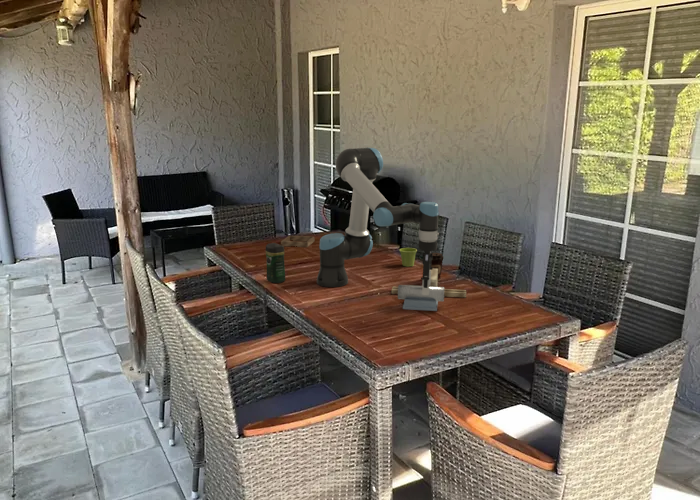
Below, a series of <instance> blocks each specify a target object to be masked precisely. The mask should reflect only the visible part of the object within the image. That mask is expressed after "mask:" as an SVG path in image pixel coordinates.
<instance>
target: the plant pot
mask: <svg viewBox="0 0 700 500" xmlns="http://www.w3.org/2000/svg"><path fill="white" fill-rule="evenodd" d="M399 252H400V256H401V264H402V265H401V266H403V267H407V268H408V267H414V266H415V259H416V254H417V252H418V250H417V248H414V247H403V248H400V249H399Z"/></svg>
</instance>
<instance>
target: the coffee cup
mask: <svg viewBox="0 0 700 500" xmlns="http://www.w3.org/2000/svg"><path fill="white" fill-rule="evenodd" d="M432 253H433V256H432V261H431V267H433V268H434V269H438V279H437V282H439V281H441V275H442V270H443V260H444V255H443V253H440V252H432Z"/></svg>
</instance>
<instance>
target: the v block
mask: <svg viewBox="0 0 700 500" xmlns="http://www.w3.org/2000/svg"><path fill="white" fill-rule="evenodd" d="M403 300H404V302H403V305H402V310H412V311H413V310H415V311H431V312H432V311H433V312H438V306H439V301H436V300H417V299H403Z"/></svg>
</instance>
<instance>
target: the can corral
mask: <svg viewBox="0 0 700 500" xmlns="http://www.w3.org/2000/svg"><path fill="white" fill-rule="evenodd" d="M290 240H293V241H290ZM313 243H315V236H309V235H308V236H305V235H288V236H287V237H285V238H284V239H282V240H280V245H282V246H284V247H291V246H295V247H296V246H297V247H296V248H300V247H301V248H309V247H310V246H311V245H312V244H313Z"/></svg>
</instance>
